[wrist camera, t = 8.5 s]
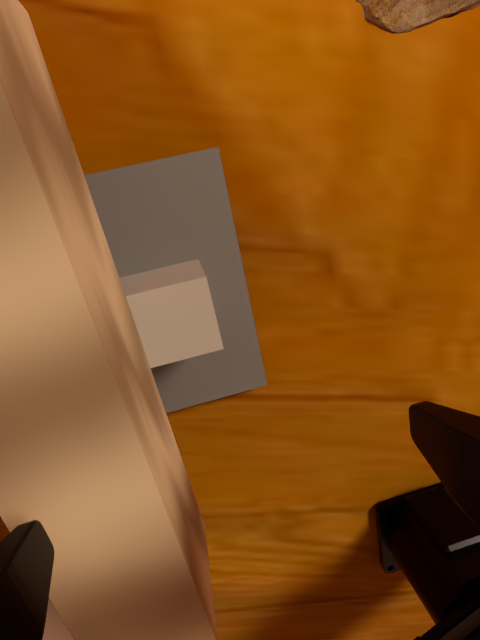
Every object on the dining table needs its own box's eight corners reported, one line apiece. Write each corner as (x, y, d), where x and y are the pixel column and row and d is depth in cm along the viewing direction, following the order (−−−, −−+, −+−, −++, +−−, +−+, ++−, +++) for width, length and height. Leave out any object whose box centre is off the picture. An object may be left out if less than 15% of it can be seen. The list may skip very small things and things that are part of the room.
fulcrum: (262, 376, 21) (289, 427, 17) (9, 446, 20) (-39, 523, 15) (215, 149, 17) (233, 133, 13) (-108, 217, 16) (-223, 227, 11)
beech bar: (204, 525, 18) (217, 645, 13) (119, 553, 17) (101, 686, 13) (28, 13, 11) (-81, -128, 6) (-121, 40, 10) (-360, -87, 6)
